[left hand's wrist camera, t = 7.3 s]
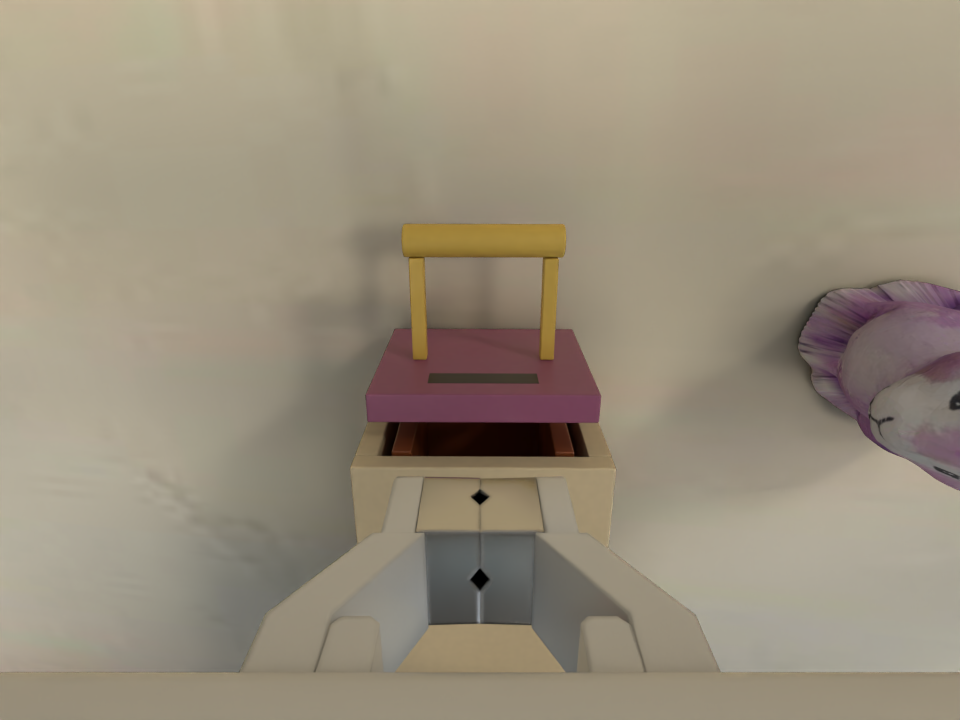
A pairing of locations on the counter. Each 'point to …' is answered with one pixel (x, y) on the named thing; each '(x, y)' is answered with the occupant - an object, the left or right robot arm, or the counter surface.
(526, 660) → the beige drawer cabinet
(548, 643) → the left robot arm
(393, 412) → the drawer
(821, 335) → the figurine
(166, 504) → the counter surface
